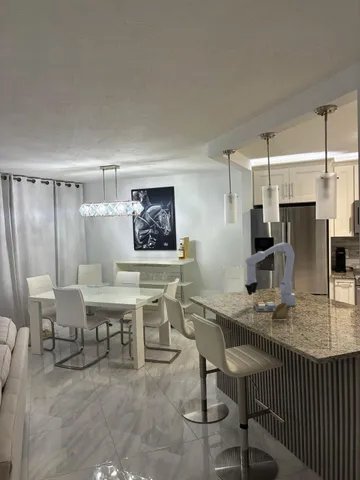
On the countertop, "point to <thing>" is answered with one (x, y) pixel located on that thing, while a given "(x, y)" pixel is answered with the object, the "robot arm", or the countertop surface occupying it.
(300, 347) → the countertop surface
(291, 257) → the robot arm
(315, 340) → the countertop surface
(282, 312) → the rock
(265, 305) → the dark grey tray
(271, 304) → the key slate
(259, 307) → the key cream
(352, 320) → the countertop surface
